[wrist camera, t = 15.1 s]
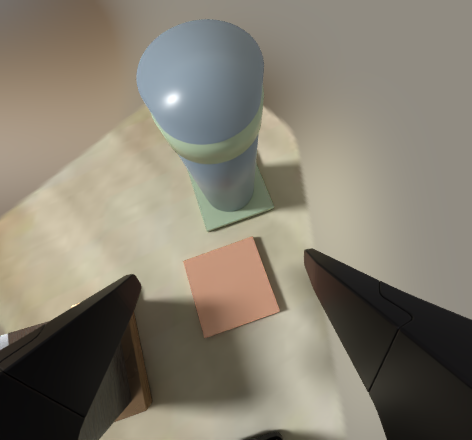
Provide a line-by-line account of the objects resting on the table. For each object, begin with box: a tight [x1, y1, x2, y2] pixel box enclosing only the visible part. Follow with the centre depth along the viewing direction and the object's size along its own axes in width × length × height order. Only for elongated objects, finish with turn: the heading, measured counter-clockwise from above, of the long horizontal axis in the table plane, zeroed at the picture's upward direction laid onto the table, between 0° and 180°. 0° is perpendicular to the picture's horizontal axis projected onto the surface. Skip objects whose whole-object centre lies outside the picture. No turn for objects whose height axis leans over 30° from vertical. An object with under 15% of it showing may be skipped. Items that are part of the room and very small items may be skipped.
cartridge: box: [137, 19, 264, 212], centre depth 14 cm, size 5×5×12 cm
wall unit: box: [0, 303, 152, 440], centre depth 14 cm, size 10×5×9 cm, turn 19°
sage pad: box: [187, 164, 274, 232], centre depth 20 cm, size 7×7×1 cm
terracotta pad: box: [183, 237, 280, 338], centre depth 18 cm, size 7×7×1 cm
